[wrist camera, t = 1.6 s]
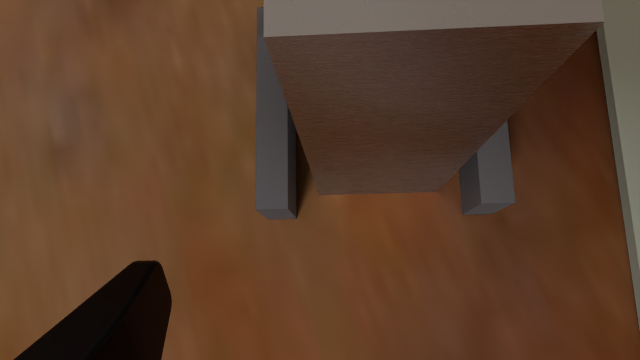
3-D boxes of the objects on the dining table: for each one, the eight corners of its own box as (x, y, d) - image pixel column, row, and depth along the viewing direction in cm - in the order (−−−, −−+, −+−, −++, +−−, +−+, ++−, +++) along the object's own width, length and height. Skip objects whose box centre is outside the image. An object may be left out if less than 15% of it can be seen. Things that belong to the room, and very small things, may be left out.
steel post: (436, 191, 21) (604, 21, 7) (319, 195, 21) (263, 37, 7) (429, 81, 22) (563, -254, 8) (317, 85, 22) (265, -231, 8)
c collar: (491, 213, 20) (515, 202, 18) (268, 219, 21) (255, 209, 18) (475, 33, 22) (494, -5, 19) (269, 42, 23) (257, 7, 20)
